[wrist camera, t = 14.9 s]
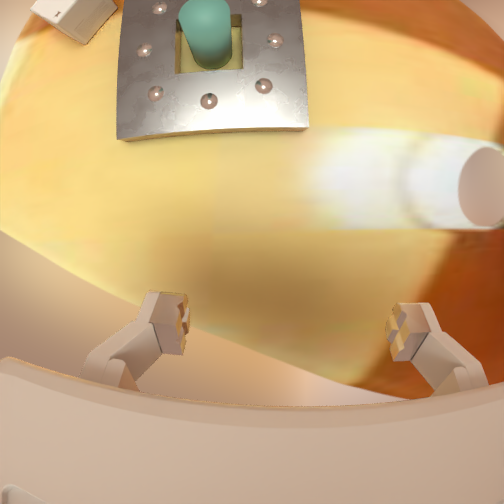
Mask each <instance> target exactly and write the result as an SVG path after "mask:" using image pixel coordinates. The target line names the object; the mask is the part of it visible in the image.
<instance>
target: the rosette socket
mask: <svg viewBox="0 0 504 504" xmlns="http://www.w3.org/2000/svg"><path fill="white" fill-rule="evenodd" d="M187 1H189V0H124V8H123V16H122V24H121V34H120V45H119V59H118V76H117V140H121V141H125V142H130V141H138V140H146V139H154V138H163V137H173V136H184V135H196V134H210V133H228V132H256V131H304V130H306V129H307V128H309V118H308V99H307V82H306V68H305V55H304V43H303V32H302V22H301V12H300V3H299V0H224V1H226V3H227V4H228V6H229V8H230V20H231V27H240V26H241V32H242V63H243V69H233V70H215V71H201V72H190V73H180V53H181V31H183V29H182V27H181V24H180V22H179V12H180V9H181V8H182V6H183V5H184V4H185V3H186V2H187Z"/></svg>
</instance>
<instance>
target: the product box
mask: <svg viewBox="0 0 504 504" xmlns="http://www.w3.org/2000/svg"><path fill="white" fill-rule="evenodd" d="M117 8H118V7H117V6H116V5H115V3H114V2H113V1H112V0H37V1H36V2H35V4H34V5H33V6H32V7H31V9H30V11H32V12H33V13H34V14H36V15H38V16H39V17H41V18H42V19H44V20H45V21H47V22H48V23H50V24H51V25H53V26H54V27H55V28H57V29H58V30H59V31H61V32H62V33H64V34H66V35H67V36H69V37H71V38H73V39H74V40H76V41H78V42H80V43H82V44H84V45H86V44H87V43H88V41H89V40H90V39H91V38H92V37H93V35H94V34H95V33H96V32H97V31H98V29H99V28H100V27H101V26H102V25H103V24H104V22H105V21H106V20H107V19H108V18H109V17H110V16H111V15H112V14H113V13H114V12H115V10H116V9H117Z"/></svg>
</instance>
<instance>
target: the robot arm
mask: <svg viewBox="0 0 504 504" xmlns="http://www.w3.org/2000/svg"><path fill="white" fill-rule="evenodd" d="M187 304H188V298H187V295H186V294H178V293H169V292H158V291H150V290H149V291H148V292H147V294H146V296H145V298H144V301H143V303H142V306H141V308H140V311H139V313H138V316H137V318H136V321H131V322H130V323H128V324H127V325H126V326H124V327H123V328H121V329H120V330H119V331H117V332H116V333H115V334H113V335H112V336H111V337H109V338H108V339H107V340H106V341H104V342H103V343H101V344H100V345H98V346H97V347H96V348H94V349H93V350H92V351H90V352H89V354H88V356H87V358H86V361H85V363H84V366H83V368H82V370H81V373H80V375H79V378H77V377H73V376H69V375H66V374H62V373H59V372H56V371H52V370H49V369H46V368H43V367H39V366H36V365H33V364H30V363H27V362H25V361H22V360H19V359H16V358H13V357H5V358H3V359H1V360H0V504H504V382H501V383H497V384H493V385H489V384H488V381H487V378H486V376H485V373H484V370H483V368H482V365H481V363H480V362H479V361H478V360H477V359H476V358H474V357H473V356H472V355H471V354H470V353H469V352H468V351H467V350H465V349H464V348H463V347H462V346H461V345H460V344H459V343H457V342H456V341H455V340H454V339H453V338H452V337H450V336H449V335H448V334H447V333H446V332H442V330H441V328H440V325H439V323H438V321H437V318H436V316H435V314H434V312H433V309H432V307H431V305H430V304H429V303H396V304H395V305H394V307H393V309H392V311H393V315H391V316H390V317H389V318H388V320H387V323H386V329H385V330H386V337H387V340H388V341H389V342H390V343H391V346H390V352H391V355H392V359H393V361H411V363H412V364H413V365H414V366H415V367H416V369H417V370H418V371H419V372H420V373H421V375H422V376H423V377H424V378H425V379H426V381H427V382H428V383H429V384H430V385H431V387H432V388H433V389H434V390H435V391H434V393H433V394H432V395H431V396H430V397H427V398H420V399H413V400H405V401H397V402H387V403H376V404H362V405H345V406H312V407H293V406H291V407H289V406H259V405H241V404H228V403H217V402H207V401H198V400H190V399H182V398H175V397H168V396H161V395H156V394H150V393H144V392H140V390H139V389H138V387H137V385H136V383H135V381H136V380H137V379H138V378H139V377H140V376H141V375H142V374H143V373H144V372H145V371H146V370H147V369H148V368H149V367H150V366H151V365H152V364H153V363H154V362H155V361H156V360H157V359H158V358H159V357H160V356H161V355H162V353H163V354H173V355H183V353H184V349H185V344H186V339H185V335H186V334H187V333H188V332H189V327H190V309H188V308H187Z"/></svg>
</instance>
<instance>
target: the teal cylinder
mask: <svg viewBox="0 0 504 504" xmlns="http://www.w3.org/2000/svg"><path fill="white" fill-rule="evenodd" d="M179 22H180V24H181V27H182V29H183V32H184V34H185V37H186V39H187V42H188V44H189V47H190V49H191V52H192V54H193V57H194V59H195V61H196V63H197V64H198V65H199V66H201V67H203V68H205V69H218V68H220V67H223V66H224V65H226V64H227V63H228V62H229V60H230V59H231V56H232V38H231V20H230V8H229V6H228V4H227V3H226V1H224V0H189V1H187V2H186V3H185V4H184V5H183V6H182V8H181V9H180V12H179Z"/></svg>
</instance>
